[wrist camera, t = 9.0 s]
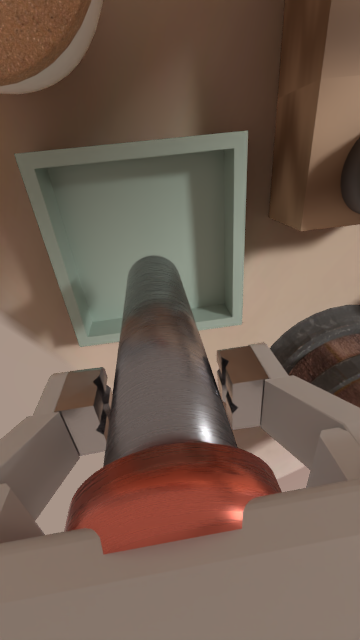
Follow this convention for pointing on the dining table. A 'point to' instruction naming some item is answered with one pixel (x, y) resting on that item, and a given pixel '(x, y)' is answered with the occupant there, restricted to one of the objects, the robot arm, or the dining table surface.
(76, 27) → the lidded jar
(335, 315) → the tankard
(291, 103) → the block
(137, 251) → the tray
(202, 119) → the dining table surface
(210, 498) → the lock pin
